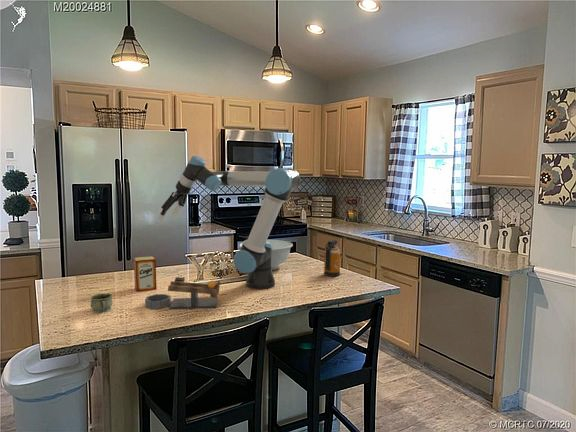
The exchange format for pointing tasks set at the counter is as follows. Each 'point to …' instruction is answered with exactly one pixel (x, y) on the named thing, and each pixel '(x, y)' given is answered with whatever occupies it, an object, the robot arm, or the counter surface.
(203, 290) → the brown wood piece
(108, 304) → the vessel
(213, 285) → the ball
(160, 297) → the blue-grey round dish
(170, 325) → the counter surface
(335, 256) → the canister
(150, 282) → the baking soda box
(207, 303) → the lever stand
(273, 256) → the bowl
